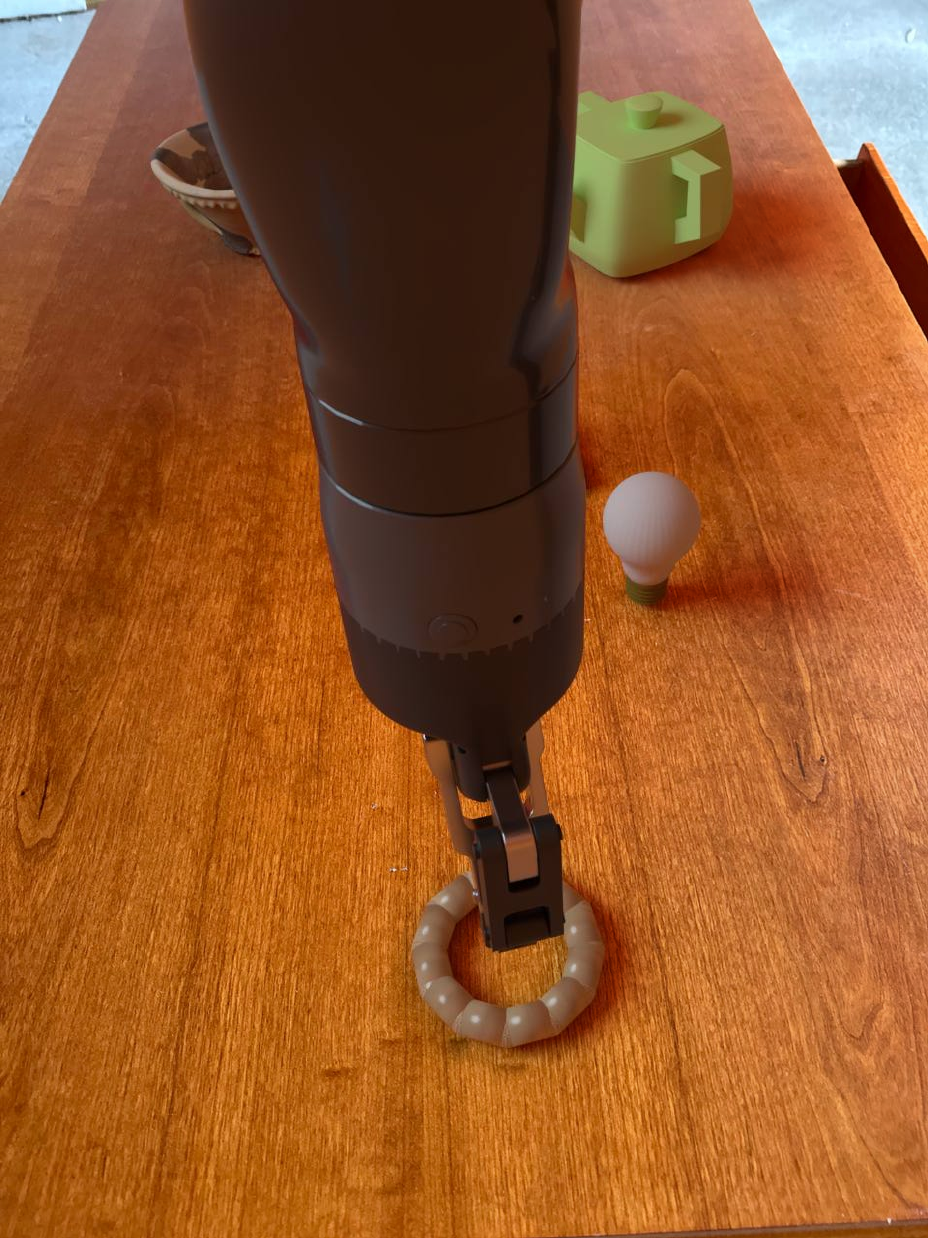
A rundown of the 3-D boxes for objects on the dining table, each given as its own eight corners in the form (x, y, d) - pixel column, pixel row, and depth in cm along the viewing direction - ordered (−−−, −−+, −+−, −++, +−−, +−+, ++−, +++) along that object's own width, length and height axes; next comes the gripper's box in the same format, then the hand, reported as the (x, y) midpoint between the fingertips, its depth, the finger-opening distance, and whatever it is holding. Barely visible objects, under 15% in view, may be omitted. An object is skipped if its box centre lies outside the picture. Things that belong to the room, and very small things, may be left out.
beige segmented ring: (571, 857, 62) (571, 840, 61) (627, 1023, 56) (629, 1008, 55) (399, 898, 61) (395, 881, 60) (436, 1072, 55) (433, 1058, 54)
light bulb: (667, 644, 72) (679, 529, 65) (584, 612, 74) (587, 497, 67) (705, 585, 75) (721, 469, 68) (624, 556, 78) (631, 440, 70)
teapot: (599, 335, 95) (603, 186, 86) (475, 236, 107) (467, 96, 98) (770, 264, 101) (792, 117, 91) (634, 178, 113) (641, 40, 103)
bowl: (392, 210, 112) (381, 113, 105) (292, 306, 101) (272, 204, 94) (244, 180, 118) (224, 86, 111) (135, 267, 107) (106, 169, 100)
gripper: (659, 707, 29) (632, 982, 41) (519, 388, 39) (530, 687, 51) (373, 771, 29) (429, 1032, 41) (302, 429, 38) (364, 723, 50)
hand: (485, 840), depth 46 cm, fingers open, 8 cm apart
